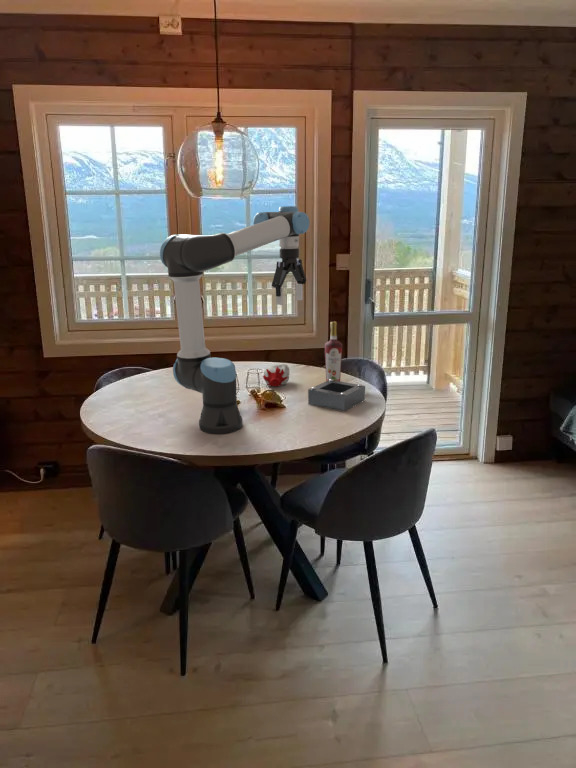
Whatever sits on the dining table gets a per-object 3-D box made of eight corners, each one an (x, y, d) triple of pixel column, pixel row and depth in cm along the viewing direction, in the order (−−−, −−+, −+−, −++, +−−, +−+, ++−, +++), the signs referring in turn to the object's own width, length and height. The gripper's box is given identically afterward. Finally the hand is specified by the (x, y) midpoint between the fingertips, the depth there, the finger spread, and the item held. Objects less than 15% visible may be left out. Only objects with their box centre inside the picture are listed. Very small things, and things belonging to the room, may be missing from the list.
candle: (289, 379, 258) (289, 393, 244) (264, 379, 258) (262, 393, 244) (289, 360, 254) (288, 373, 241) (263, 360, 255) (261, 373, 241)
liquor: (325, 390, 243) (325, 324, 235) (323, 385, 250) (323, 320, 242) (342, 390, 243) (343, 323, 235) (340, 385, 250) (341, 320, 242)
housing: (344, 411, 218) (344, 394, 216) (308, 404, 227) (308, 387, 225) (364, 400, 230) (365, 384, 228) (329, 393, 239) (330, 378, 237)
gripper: (277, 250, 216) (278, 307, 222) (314, 246, 235) (314, 299, 241) (261, 249, 220) (263, 305, 226) (299, 245, 239) (299, 297, 245)
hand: (289, 302), depth 234 cm, fingers open, 13 cm apart
